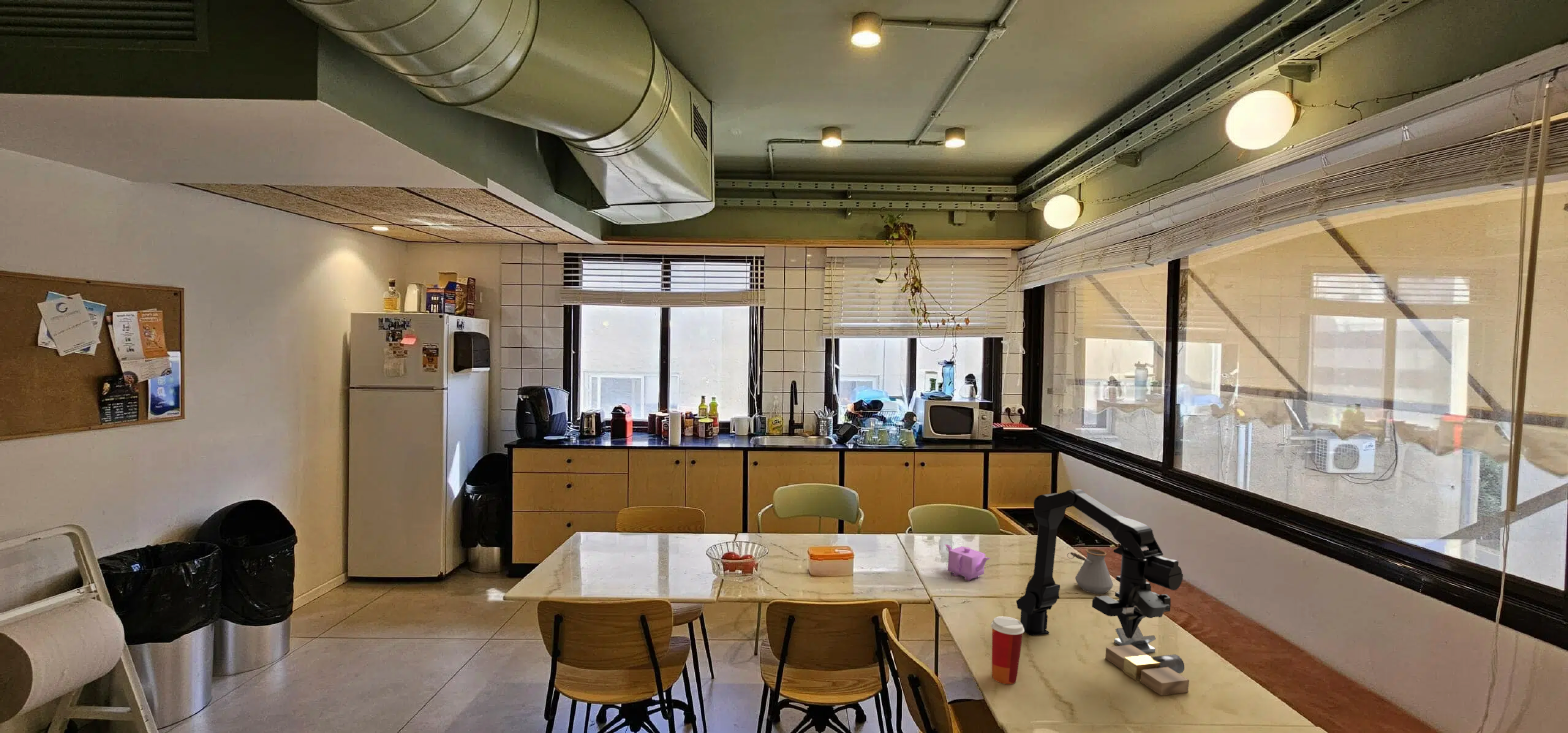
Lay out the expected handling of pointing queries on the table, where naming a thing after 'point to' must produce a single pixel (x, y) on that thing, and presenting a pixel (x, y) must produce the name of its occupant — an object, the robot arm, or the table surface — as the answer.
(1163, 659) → the dark grey rounded block
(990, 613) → the table surface
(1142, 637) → the v block
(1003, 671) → the paper cup
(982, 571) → the teapot
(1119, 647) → the beam
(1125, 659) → the block
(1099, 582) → the coffee pot
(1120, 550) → the robot arm
